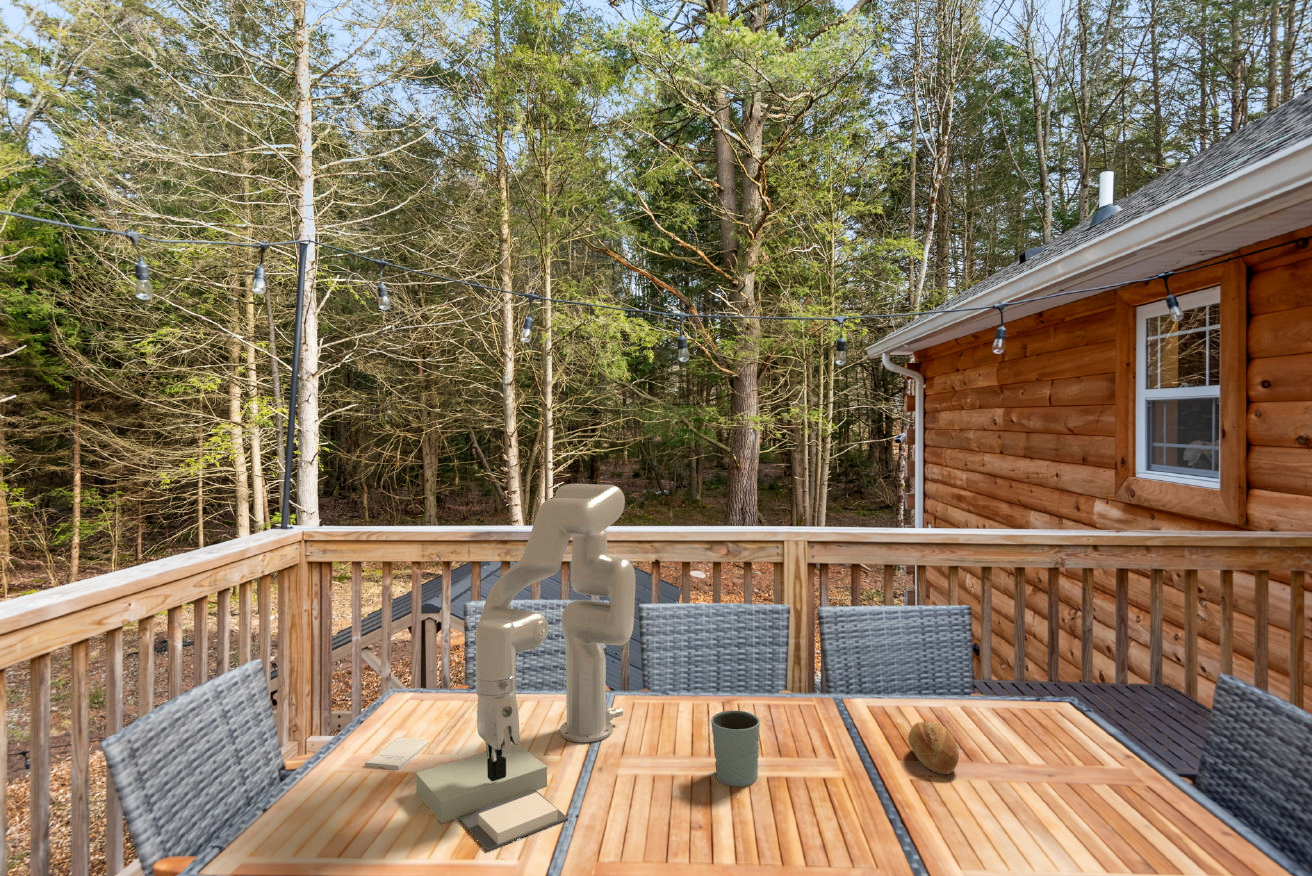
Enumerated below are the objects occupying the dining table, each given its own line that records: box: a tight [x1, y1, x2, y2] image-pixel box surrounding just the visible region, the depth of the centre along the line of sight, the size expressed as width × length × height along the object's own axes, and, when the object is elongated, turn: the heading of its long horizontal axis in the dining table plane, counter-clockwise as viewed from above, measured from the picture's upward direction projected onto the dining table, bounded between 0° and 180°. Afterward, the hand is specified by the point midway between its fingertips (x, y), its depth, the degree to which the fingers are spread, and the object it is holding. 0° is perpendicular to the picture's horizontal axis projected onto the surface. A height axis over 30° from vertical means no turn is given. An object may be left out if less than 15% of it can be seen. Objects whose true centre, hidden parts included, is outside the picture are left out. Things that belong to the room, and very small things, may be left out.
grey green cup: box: [710, 710, 761, 788], centre depth 145 cm, size 10×10×12 cm
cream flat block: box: [478, 791, 559, 845], centre depth 127 cm, size 12×8×2 cm, turn 129°
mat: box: [457, 790, 569, 853], centre depth 129 cm, size 16×13×1 cm
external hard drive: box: [364, 737, 430, 771], centre depth 156 cm, size 2×8×12 cm
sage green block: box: [415, 743, 548, 824], centre depth 140 cm, size 22×14×4 cm, turn 128°
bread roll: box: [907, 720, 960, 775], centre depth 151 cm, size 10×15×8 cm, turn 175°
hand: (496, 777), depth 135 cm, fingers closed
